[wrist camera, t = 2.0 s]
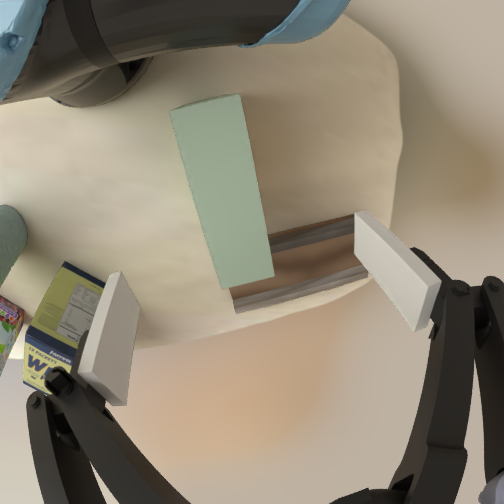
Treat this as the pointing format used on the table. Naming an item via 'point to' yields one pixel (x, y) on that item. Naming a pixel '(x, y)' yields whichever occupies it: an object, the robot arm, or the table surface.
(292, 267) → the facing shelf
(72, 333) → the protein box
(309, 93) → the table surface
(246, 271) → the cracker box
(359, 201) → the table surface
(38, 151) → the table surface
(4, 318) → the snack box
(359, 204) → the table surface
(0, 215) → the green cup
